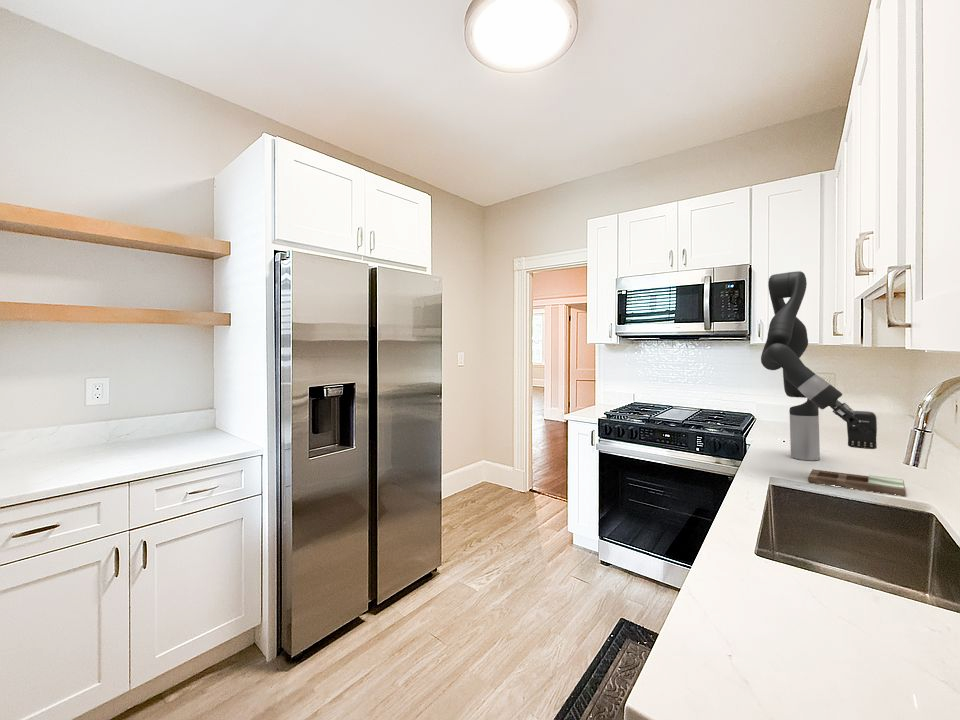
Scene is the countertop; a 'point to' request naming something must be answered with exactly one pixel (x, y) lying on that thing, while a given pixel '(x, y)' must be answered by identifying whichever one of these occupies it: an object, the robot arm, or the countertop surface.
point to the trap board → (858, 482)
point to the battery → (859, 438)
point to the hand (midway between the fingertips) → (870, 432)
